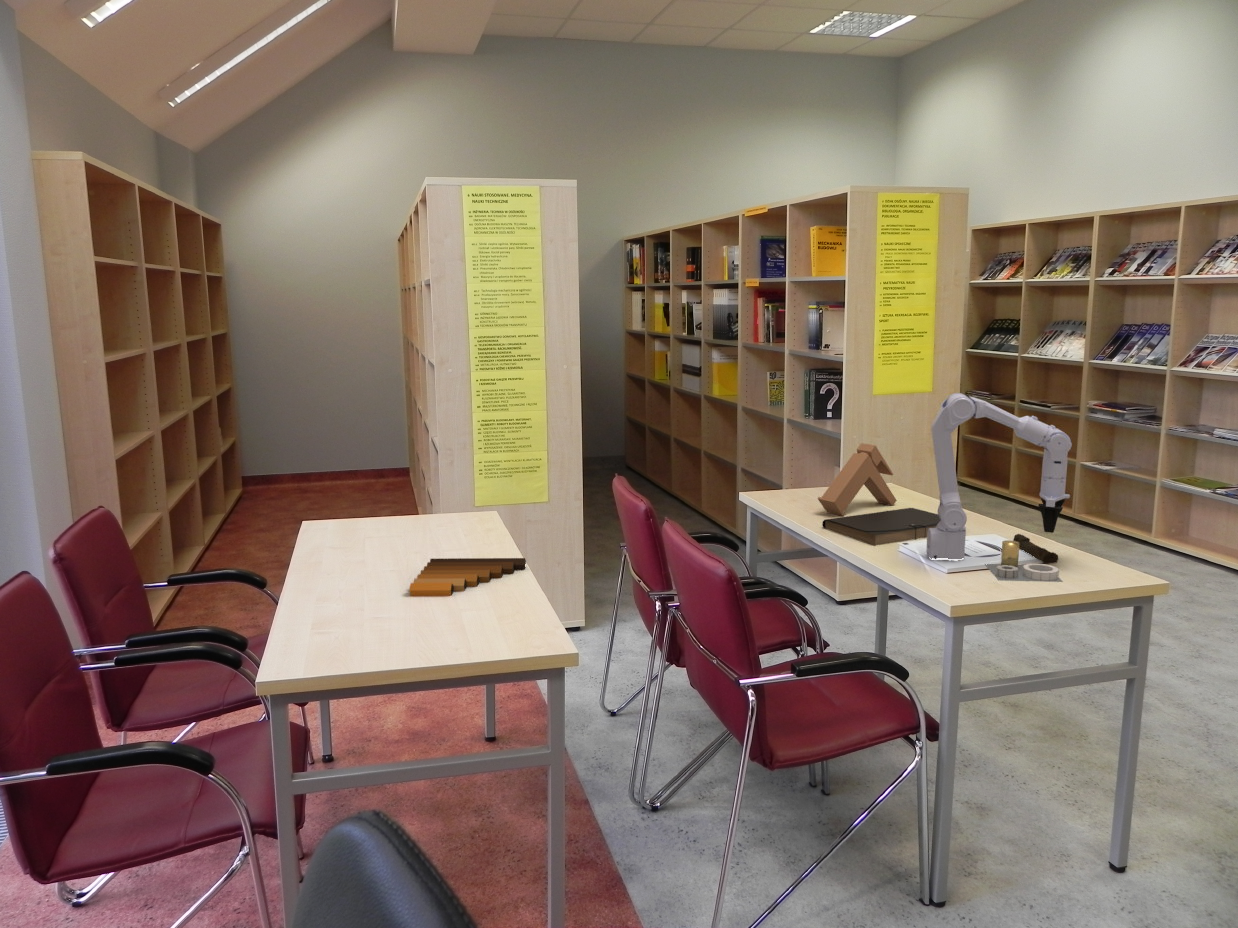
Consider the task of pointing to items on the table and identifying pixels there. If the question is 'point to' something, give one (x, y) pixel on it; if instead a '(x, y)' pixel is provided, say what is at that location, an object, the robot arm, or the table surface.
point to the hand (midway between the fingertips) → (1049, 528)
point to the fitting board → (1025, 572)
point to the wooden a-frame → (858, 481)
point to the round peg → (1010, 553)
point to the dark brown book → (885, 525)
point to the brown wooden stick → (1035, 549)
